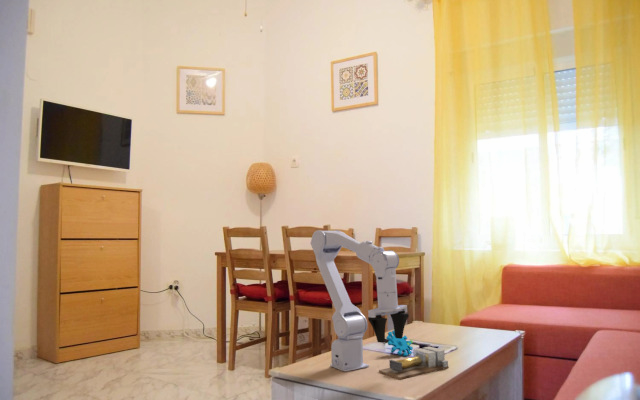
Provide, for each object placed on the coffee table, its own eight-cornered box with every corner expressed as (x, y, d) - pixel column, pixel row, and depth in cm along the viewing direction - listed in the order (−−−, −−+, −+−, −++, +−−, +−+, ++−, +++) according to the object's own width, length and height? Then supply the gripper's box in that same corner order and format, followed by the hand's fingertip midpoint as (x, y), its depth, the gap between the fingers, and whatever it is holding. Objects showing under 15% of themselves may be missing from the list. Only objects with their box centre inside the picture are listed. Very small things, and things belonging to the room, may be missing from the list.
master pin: (400, 371, 139) (399, 362, 139) (389, 368, 142) (389, 359, 142) (424, 366, 144) (423, 357, 144) (413, 363, 148) (413, 354, 148)
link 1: (428, 368, 144) (428, 353, 144) (409, 363, 150) (409, 348, 151) (435, 366, 146) (435, 352, 146) (416, 361, 152) (416, 347, 152)
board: (400, 379, 135) (400, 375, 135) (378, 372, 143) (378, 368, 143) (448, 367, 147) (448, 363, 147) (426, 361, 154) (426, 357, 154)
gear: (396, 354, 158) (383, 328, 165) (386, 364, 161) (375, 339, 168) (420, 354, 163) (408, 329, 170) (411, 364, 166) (399, 339, 173)
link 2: (442, 367, 145) (441, 352, 145) (422, 362, 151) (422, 347, 152) (449, 365, 146) (448, 351, 147) (429, 360, 153) (429, 346, 153)
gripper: (380, 295, 133) (383, 345, 131) (413, 290, 142) (417, 337, 140) (361, 294, 138) (364, 342, 137) (395, 289, 147) (398, 335, 146)
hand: (390, 340), depth 139 cm, fingers open, 7 cm apart
